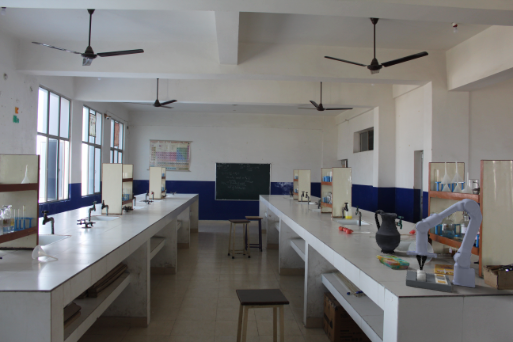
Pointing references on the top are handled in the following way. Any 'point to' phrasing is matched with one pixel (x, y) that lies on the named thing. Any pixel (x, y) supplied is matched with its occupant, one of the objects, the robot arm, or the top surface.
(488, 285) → the top surface
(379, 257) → the puzzle game
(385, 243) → the pitcher
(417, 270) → the button middle
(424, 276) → the button
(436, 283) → the board
